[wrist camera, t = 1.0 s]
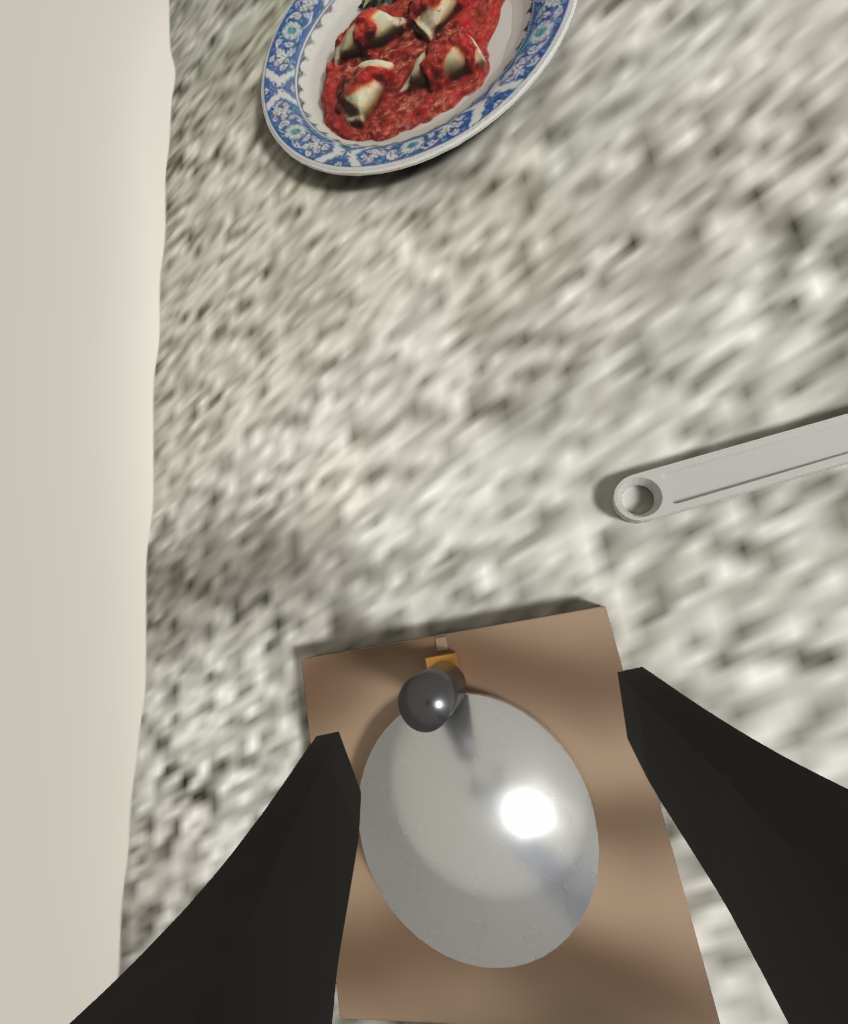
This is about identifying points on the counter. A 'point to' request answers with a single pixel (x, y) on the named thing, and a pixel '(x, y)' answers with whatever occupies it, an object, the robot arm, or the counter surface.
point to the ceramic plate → (400, 76)
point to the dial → (477, 823)
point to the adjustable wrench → (739, 469)
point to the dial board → (620, 825)
